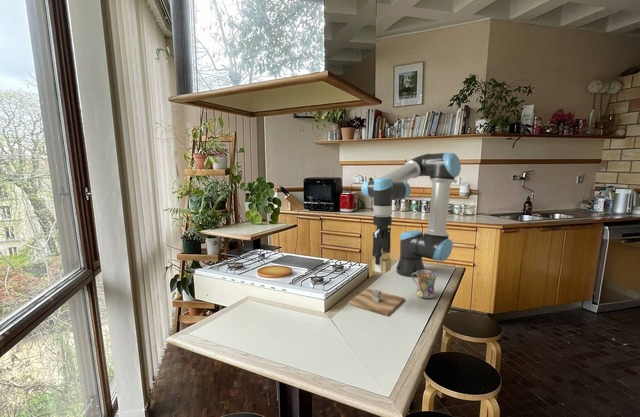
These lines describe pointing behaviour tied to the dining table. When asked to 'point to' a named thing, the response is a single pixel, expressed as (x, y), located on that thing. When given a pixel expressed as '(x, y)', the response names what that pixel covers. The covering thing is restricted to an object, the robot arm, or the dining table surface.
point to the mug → (425, 283)
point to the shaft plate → (376, 301)
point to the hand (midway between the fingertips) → (381, 269)
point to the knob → (383, 262)
